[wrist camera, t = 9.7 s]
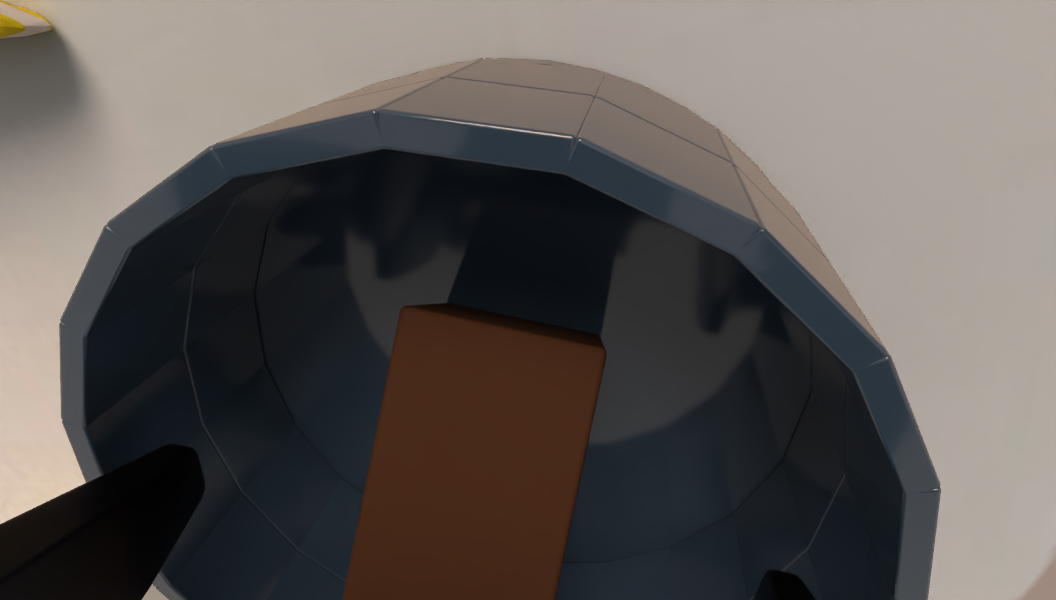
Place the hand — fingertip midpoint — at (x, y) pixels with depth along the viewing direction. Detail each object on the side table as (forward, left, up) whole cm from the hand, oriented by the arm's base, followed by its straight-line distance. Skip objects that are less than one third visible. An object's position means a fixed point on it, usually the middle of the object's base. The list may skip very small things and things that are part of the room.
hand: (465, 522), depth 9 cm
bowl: (0, 0, -4) cm, 4 cm away
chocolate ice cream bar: (0, +2, -2) cm, 3 cm away
